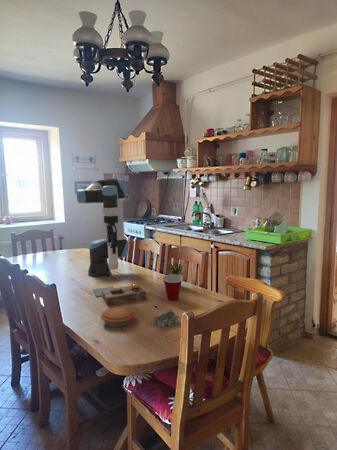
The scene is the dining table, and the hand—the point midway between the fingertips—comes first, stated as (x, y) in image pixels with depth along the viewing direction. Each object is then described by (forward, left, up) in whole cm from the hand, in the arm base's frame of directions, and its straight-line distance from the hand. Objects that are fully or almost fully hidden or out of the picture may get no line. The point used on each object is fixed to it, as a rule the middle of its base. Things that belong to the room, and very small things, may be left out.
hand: (112, 258), depth 171 cm
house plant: (-1, +39, -22) cm, 45 cm away
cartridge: (0, 0, -6) cm, 6 cm away
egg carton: (+41, +14, -23) cm, 49 cm away
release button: (+3, +11, -21) cm, 24 cm away
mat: (-11, -3, -22) cm, 25 cm away
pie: (+30, -5, -22) cm, 38 cm away
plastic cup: (+16, +28, -22) cm, 39 cm away
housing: (+3, +4, -22) cm, 23 cm away
